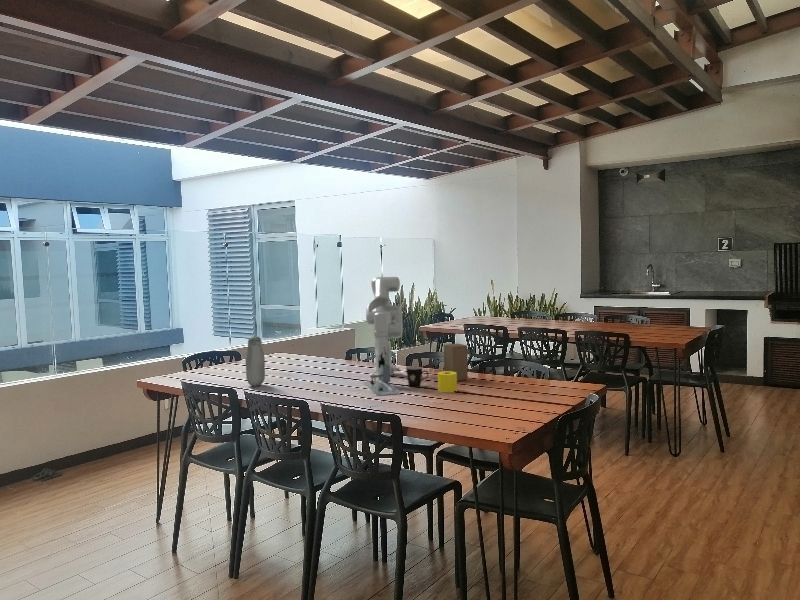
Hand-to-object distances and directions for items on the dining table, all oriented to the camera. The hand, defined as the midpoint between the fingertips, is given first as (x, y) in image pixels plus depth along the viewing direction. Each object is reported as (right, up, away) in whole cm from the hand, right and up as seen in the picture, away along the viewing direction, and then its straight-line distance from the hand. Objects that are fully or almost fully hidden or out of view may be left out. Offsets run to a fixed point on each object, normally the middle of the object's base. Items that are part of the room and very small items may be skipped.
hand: (381, 367), depth 339 cm
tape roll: (+35, -11, -17) cm, 41 cm away
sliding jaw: (0, -7, -7) cm, 10 cm away
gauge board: (0, -11, -10) cm, 14 cm away
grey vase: (-71, -11, +5) cm, 72 cm away
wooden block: (+42, -9, +12) cm, 45 cm away
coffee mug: (+19, -10, -5) cm, 22 cm away
